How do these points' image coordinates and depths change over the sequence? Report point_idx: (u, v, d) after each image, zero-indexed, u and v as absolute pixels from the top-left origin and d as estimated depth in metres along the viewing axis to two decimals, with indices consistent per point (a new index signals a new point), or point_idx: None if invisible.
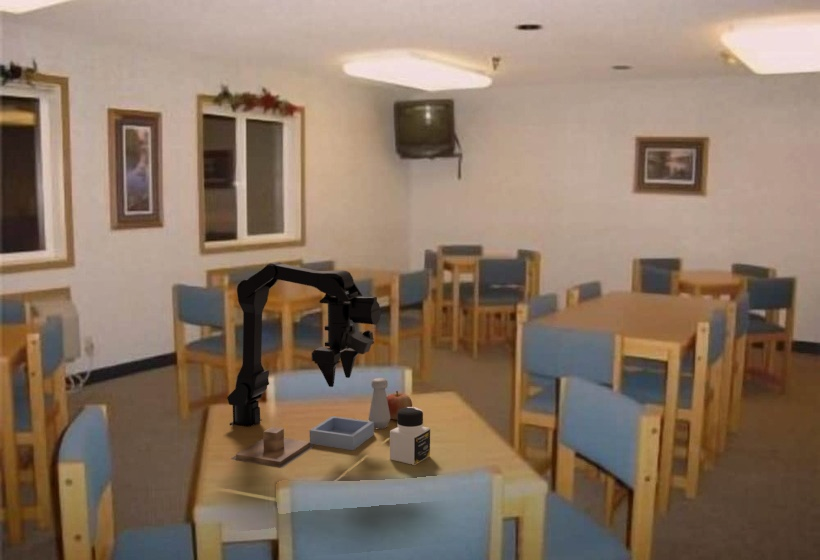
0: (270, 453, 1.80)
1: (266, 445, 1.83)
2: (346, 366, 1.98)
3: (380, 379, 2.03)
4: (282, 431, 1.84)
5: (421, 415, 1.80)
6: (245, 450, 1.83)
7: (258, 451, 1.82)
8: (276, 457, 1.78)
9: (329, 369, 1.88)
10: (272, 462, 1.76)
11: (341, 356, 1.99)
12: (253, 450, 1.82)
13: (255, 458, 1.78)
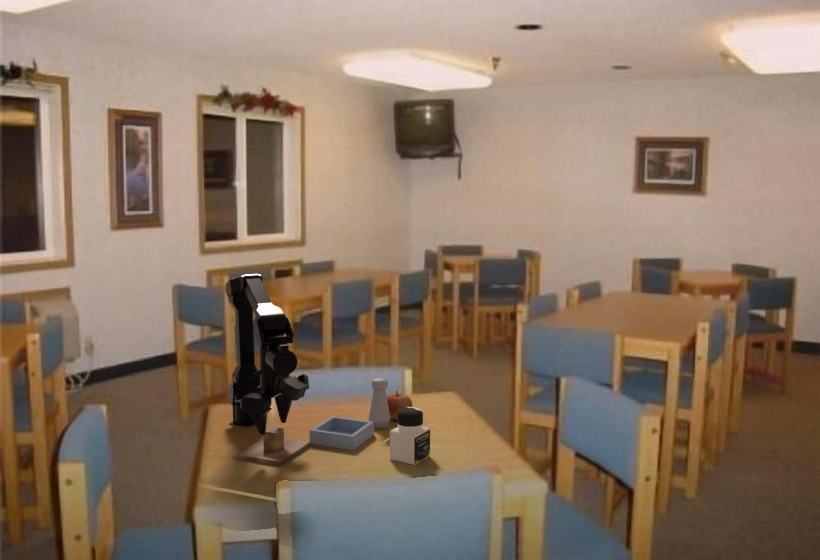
0: (270, 453, 1.80)
1: (266, 445, 1.83)
2: (282, 411, 1.87)
3: (380, 379, 2.03)
4: (282, 431, 1.84)
5: (421, 415, 1.80)
6: (245, 450, 1.83)
7: (258, 451, 1.82)
8: (276, 457, 1.78)
9: (260, 416, 1.78)
10: (272, 462, 1.76)
11: (276, 400, 1.88)
12: (253, 450, 1.82)
13: (255, 458, 1.78)
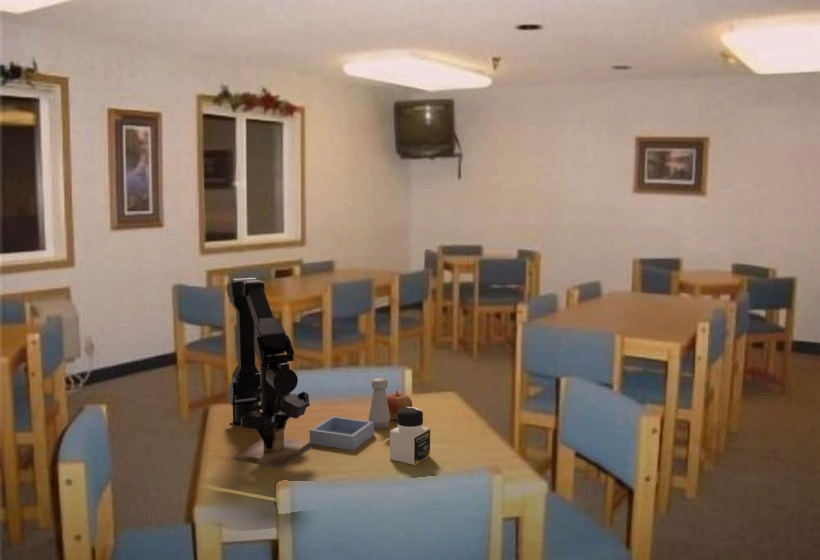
0: (270, 453, 1.80)
1: None
2: None
3: (380, 379, 2.03)
4: (282, 431, 1.84)
5: (421, 415, 1.80)
6: (245, 450, 1.83)
7: (258, 451, 1.82)
8: (276, 457, 1.78)
9: (267, 431, 1.80)
10: (272, 462, 1.76)
11: None
12: (253, 450, 1.82)
13: (255, 458, 1.78)
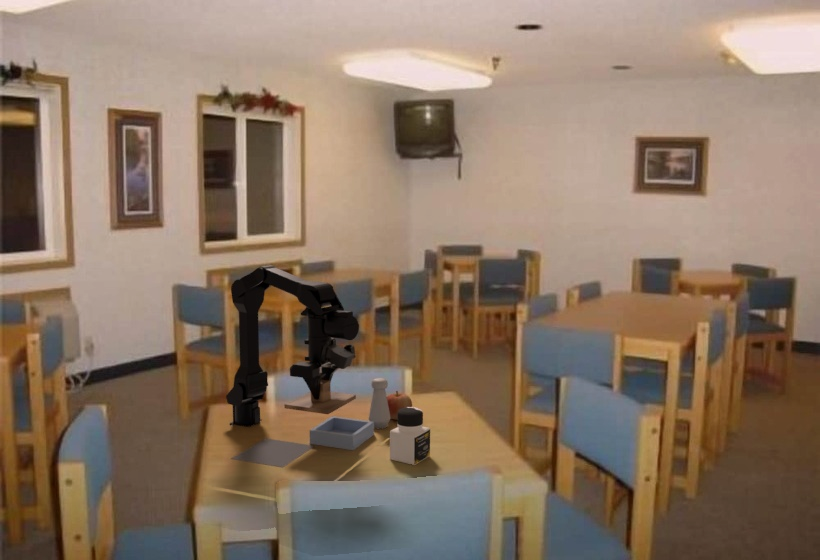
0: (317, 404, 1.85)
1: None
2: None
3: (380, 379, 2.03)
4: (329, 383, 1.88)
5: (421, 415, 1.80)
6: (293, 400, 1.87)
7: (306, 402, 1.86)
8: (324, 407, 1.82)
9: (314, 381, 1.85)
10: (320, 411, 1.81)
11: None
12: (301, 401, 1.87)
13: (303, 407, 1.83)
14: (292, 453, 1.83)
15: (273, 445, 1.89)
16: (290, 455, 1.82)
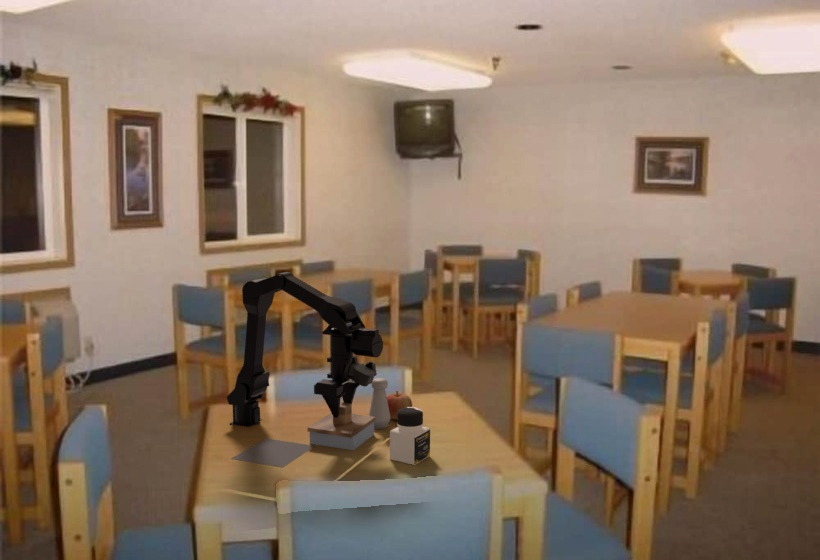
0: (340, 427, 1.89)
1: (335, 419, 1.91)
2: (346, 399, 1.95)
3: (380, 379, 2.03)
4: (350, 406, 1.93)
5: (421, 415, 1.80)
6: (315, 423, 1.91)
7: (328, 425, 1.91)
8: (347, 430, 1.87)
9: (334, 400, 1.88)
10: (343, 434, 1.85)
11: None
12: (323, 424, 1.91)
13: (326, 431, 1.87)
14: (292, 453, 1.83)
15: (273, 445, 1.89)
16: (290, 455, 1.82)
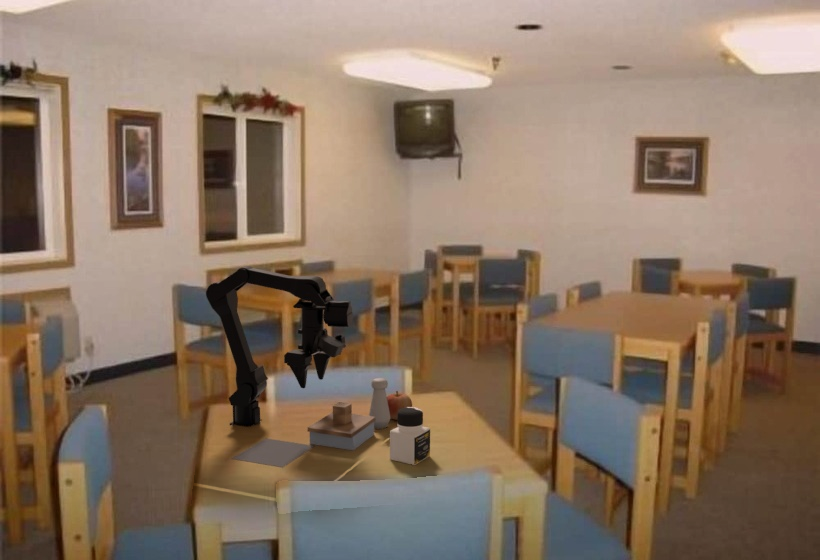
0: (340, 427, 1.89)
1: (335, 419, 1.91)
2: (319, 369, 2.05)
3: (380, 379, 2.03)
4: (350, 406, 1.93)
5: (421, 415, 1.80)
6: (315, 423, 1.91)
7: (328, 425, 1.91)
8: (347, 430, 1.87)
9: (301, 371, 1.95)
10: (343, 434, 1.85)
11: (315, 358, 2.06)
12: (323, 424, 1.91)
13: (326, 431, 1.87)
14: (292, 453, 1.83)
15: (273, 445, 1.89)
16: (290, 455, 1.82)
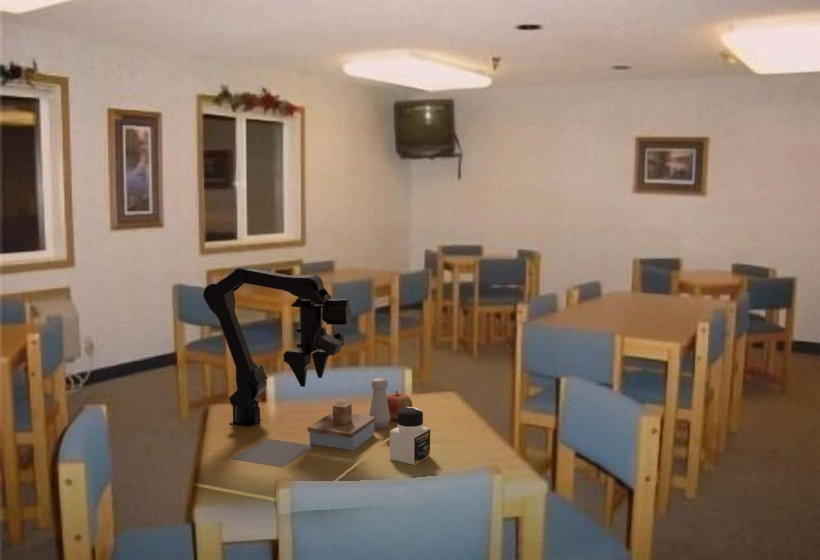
0: (340, 427, 1.89)
1: (335, 419, 1.91)
2: (319, 367, 2.06)
3: (380, 379, 2.03)
4: (350, 406, 1.93)
5: (421, 415, 1.80)
6: (315, 423, 1.91)
7: (328, 425, 1.91)
8: (347, 430, 1.87)
9: (301, 370, 1.96)
10: (343, 434, 1.85)
11: (313, 357, 2.06)
12: (323, 424, 1.91)
13: (326, 431, 1.87)
14: (292, 453, 1.83)
15: (273, 445, 1.89)
16: (290, 455, 1.82)
